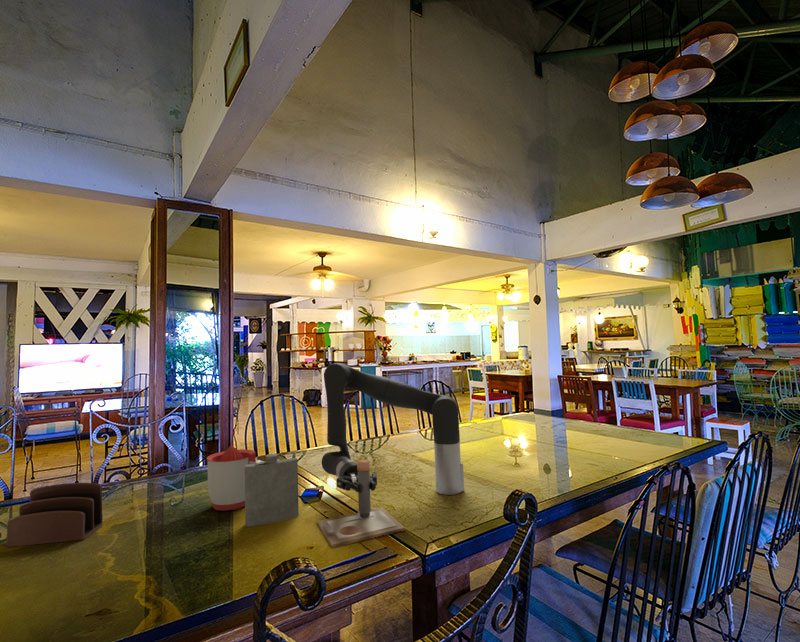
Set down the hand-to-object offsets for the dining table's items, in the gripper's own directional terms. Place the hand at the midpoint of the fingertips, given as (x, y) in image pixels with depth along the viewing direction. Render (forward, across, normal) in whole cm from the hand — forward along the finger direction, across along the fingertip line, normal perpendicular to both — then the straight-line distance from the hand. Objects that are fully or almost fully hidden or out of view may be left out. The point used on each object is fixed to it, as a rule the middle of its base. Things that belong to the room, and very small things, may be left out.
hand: (367, 488), depth 123 cm
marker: (-3, 0, +9) cm, 9 cm away
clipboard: (0, -3, +10) cm, 11 cm away
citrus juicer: (-38, -35, +11) cm, 52 cm away
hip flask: (-18, -25, +11) cm, 32 cm away
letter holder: (-38, -84, +11) cm, 92 cm away
